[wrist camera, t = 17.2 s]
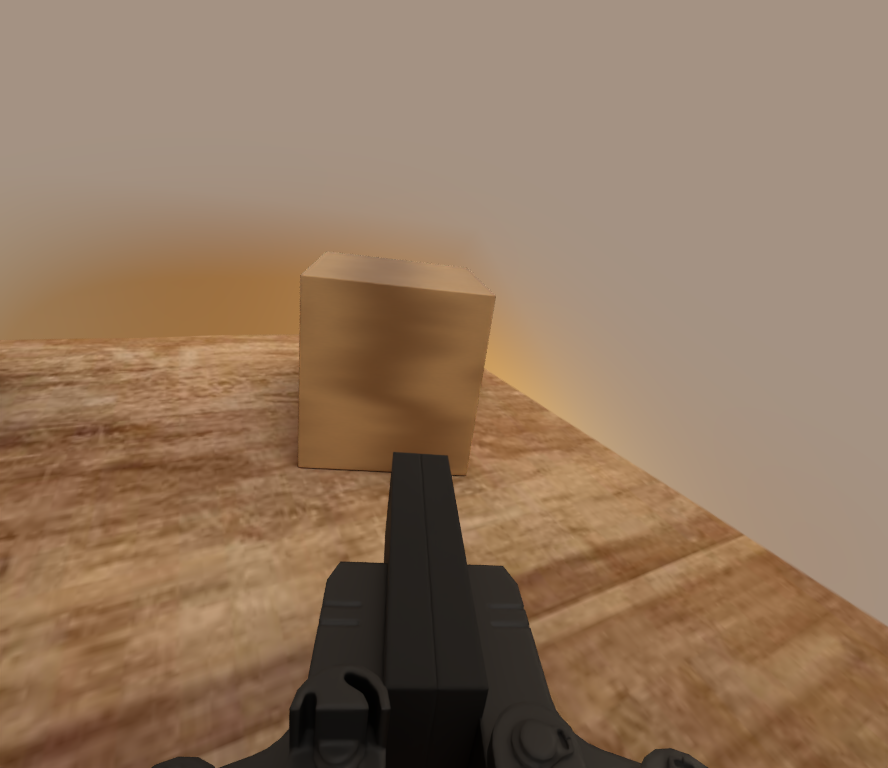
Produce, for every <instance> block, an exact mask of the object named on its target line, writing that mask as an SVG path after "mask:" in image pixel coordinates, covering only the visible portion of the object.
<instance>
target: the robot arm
mask: <svg viewBox="0 0 888 768" xmlns="http://www.w3.org/2000/svg"><path fill="white" fill-rule="evenodd" d="M152 768H215V767H214V766H213V765H211V764H209V763H208V762H206V761H204V760H202V759H201V758H199V757H176V758H173V759H170V760H168V761H165V762H162V763H159V764H156V765H154V766H153V767H152ZM220 768H708V767H706V766H705V765H703V764H702V763H701V762H699V761H698V760H696V759H695V758H693V757H692V756H690V755H689V754H686V753H683V752H680V751H677V750H674V749H672V748H668V749H655V750H654V751H652V752H651V753H650V754H648V755H647V756H646V757H644V759H643V761H642V764H641V763H638V762H636V761H633V760H630V759H627V758H624V757H621V756H619V755H616V754H613V753H610V752H607V751H604V750H602V749H599V748H597V747H595V746H593V745H591V744H589V743H587V742H586V741H584V740H583V739H582V738H580V737H579V736H578V735H576V734H575V733H574V732H573V731H572V729H571V727H570V726H569V725H568V724H567V723H566V722H565V721H564V720H563V719H562V717H561V716H560V715H559V714H558V712H557V711H556V709H555V706H554V704H553V701H552V699H551V696H550V693H549V689H548V686H547V683H546V679H545V676H544V672H543V669H542V666H541V662H540V659H539V656H538V652H537V649H536V645H535V642H534V639H533V635H532V632H531V628H529V622H528V618H527V615H526V612H525V610H524V605H523V601H522V598H521V595H520V591H519V588H518V585H517V583H516V582H515V581H514V579H513V578H512V577H511V576H510V574H509V573H508V572H507V570H506V569H505V568H504V567H503V566H491V565H467V562H466V556H465V550H464V544H463V539H462V533H461V527H460V522H459V516H458V510H457V505H456V499H455V493H454V487H453V482H452V476H451V470H450V465H449V459H448V455H433V454H418V453H403V452H393V459H392V469H391V480H390V490H389V500H388V511H387V521H386V532H385V551H384V563H367V562H340V563H339V564H338V566H337V567H336V568H335V570H334V571H333V572H332V574H331V575H330V576H329V578H328V579H327V582H326V588H325V593H324V598H323V604H322V608H321V613H320V619H319V625H318V629H317V634H316V639H315V644H314V650H313V655H312V660H311V665H310V670H309V675H308V679H307V680H306V681H305V682H304V683H303V685H302V686H301V687H300V688H299V689H298V690H297V692H296V695H295V697H294V700H293V702H292V704H291V707H290V715H289V730H288V731H287V732H286V733H285V734H284V735H283V736H282V737H281V738H280V739H279V740H278V741H276V742H275V743H274V744H272V745H271V746H270V747H268V748H267V749H265V750H263V751H261V752H259V753H257V754H255V755H253V756H250V757H247V758H245V759H242V760H239V761H236V762H234V763H231V764H228V765H225V766H223V767H220Z"/></svg>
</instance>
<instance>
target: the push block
mask: <svg viewBox="0 0 888 768" xmlns="http://www.w3.org/2000/svg"><path fill="white" fill-rule="evenodd" d="M495 298H496V296H495V295H494V294H493V293H492V292H491V291H490V290H489V289H488V288H487V287H486V286H485V285H484V284H483V283H482V282H481V281H480V280H479V279H478V278H477V277H476V276H475V275H474V274H473V273H472V272H471V271H470V270H469V269H468V268H466V267H457V266H449V265H439V264H431V263H422V262H413V261H404V260H396V259H388V258H379V257H370V256H361V255H352V254H343V253H335V252H325V253H324V254H323V255H322V256H321V257H320V258H319V259H318V260H317V261H315V263H313V264H312V265H311V266H310V267H309V268H308V269H307V270H306V271H305V272H303V273H302V274H301V276H300V340H299V414H298V467H307V468H327V469H347V470H367V471H387V472H391V469H392V459H393V452H403V453H418V454H433V455H448V459H449V465H450V470H451V475H466V473H467V467H468V461H469V455H470V449H471V443H472V437H473V431H474V425H475V419H476V413H477V407H478V401H479V395H480V389H481V383H482V377H483V371H484V365H485V359H486V353H487V346H488V341H489V335H490V329H491V323H492V316H493V311H494V304H495Z"/></svg>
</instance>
